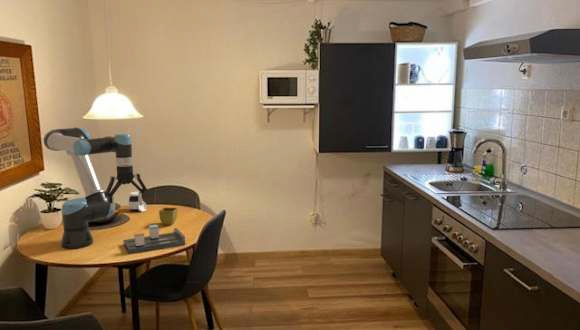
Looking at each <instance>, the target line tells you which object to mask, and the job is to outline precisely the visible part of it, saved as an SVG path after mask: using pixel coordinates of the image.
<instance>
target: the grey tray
mask: <svg viewBox="0 0 580 330" xmlns="http://www.w3.org/2000/svg"><path fill="white" fill-rule="evenodd" d="M122 242H123V244H122V245H123V246H124V248H125V250H126V251H127V254H128V255H133V254H137V253H144V252H150V251H156V250H162V249H167V248H168V249H169V248H175V247H181V246H185V245H186V236H185V235H184V233H182V232H181V231H180V230H179V229H178V228H177V227H175V228H173V232H168V233H161V234H160V233H159V238H152V239H151V238H150V235H148V236H144V243H145V245H140V246H136V245H135V239H134V238H128V239H123V240H122Z"/></svg>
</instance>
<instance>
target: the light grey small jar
mask: <svg viewBox="0 0 580 330" xmlns="http://www.w3.org/2000/svg"><path fill="white" fill-rule="evenodd" d="M148 231H149V233H148V234H149V235H148V236H150V238H151V239H152V238H159V235H160V227H159V225H158V224H152V225H151V224H150V225H148Z"/></svg>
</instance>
